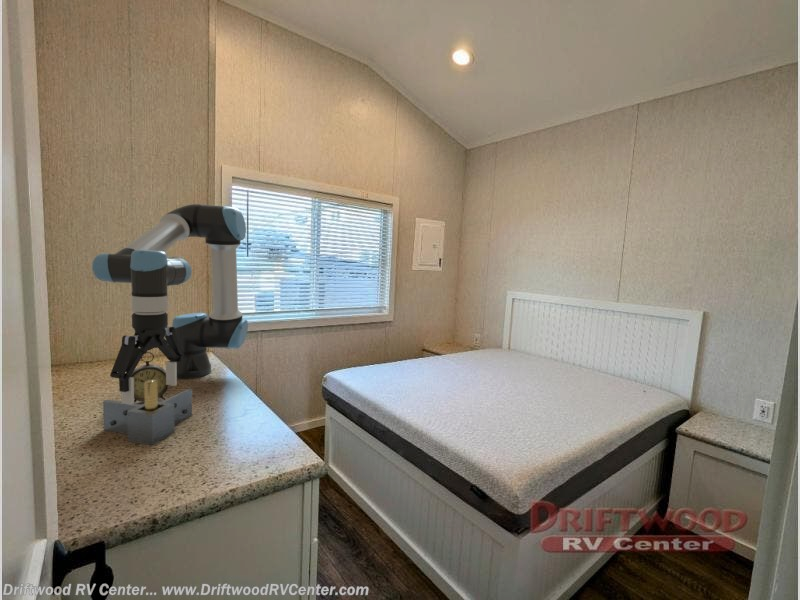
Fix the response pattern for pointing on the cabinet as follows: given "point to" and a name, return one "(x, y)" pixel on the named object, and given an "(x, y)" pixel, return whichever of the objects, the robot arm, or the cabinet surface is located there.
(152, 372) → the alarm clock
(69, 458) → the cabinet surface
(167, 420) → the hinge leaves
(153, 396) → the hinge pin
